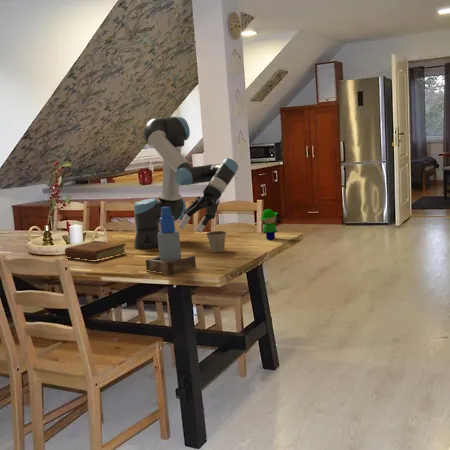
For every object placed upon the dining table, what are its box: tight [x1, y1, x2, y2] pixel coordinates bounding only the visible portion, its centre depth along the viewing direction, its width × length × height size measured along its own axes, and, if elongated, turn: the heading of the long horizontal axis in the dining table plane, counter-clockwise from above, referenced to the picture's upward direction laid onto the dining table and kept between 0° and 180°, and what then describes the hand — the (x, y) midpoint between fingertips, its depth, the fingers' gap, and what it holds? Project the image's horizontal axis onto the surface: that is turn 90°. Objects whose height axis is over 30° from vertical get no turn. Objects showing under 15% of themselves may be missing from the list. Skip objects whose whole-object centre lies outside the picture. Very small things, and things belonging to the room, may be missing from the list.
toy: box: [260, 208, 281, 241], centre depth 298 cm, size 9×9×15 cm
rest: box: [145, 255, 197, 276], centre depth 250 cm, size 15×14×5 cm
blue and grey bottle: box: [157, 207, 182, 262], centre depth 248 cm, size 9×9×25 cm
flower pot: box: [206, 230, 227, 253], centre depth 279 cm, size 9×9×9 cm
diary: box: [64, 240, 126, 260], centre depth 291 cm, size 23×19×6 cm
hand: (189, 229), depth 254 cm, fingers open, 13 cm apart
